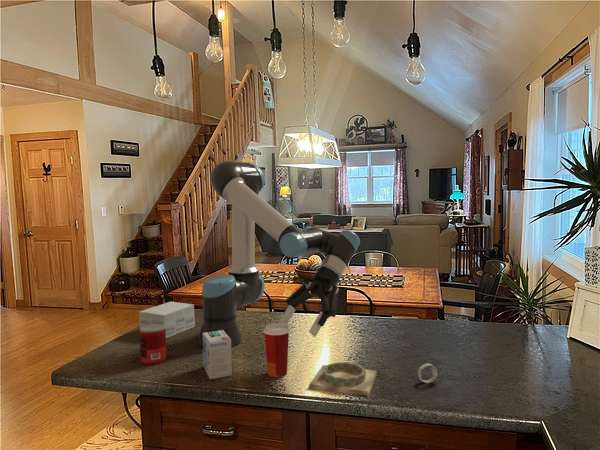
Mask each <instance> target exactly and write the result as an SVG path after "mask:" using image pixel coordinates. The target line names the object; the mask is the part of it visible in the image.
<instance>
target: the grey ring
mask: <svg viewBox="0 0 600 450" xmlns="http://www.w3.org/2000/svg"><path fill="white" fill-rule="evenodd" d="M427 367H431V372H432V377H431V378H429V379H427V380H425V379H422V375H423V374H422V370H424V369H425V368H427ZM417 369H418V370H417V377H418V379H419V380H420V381H421V382H423V383H425V384H431V383H433V382H434V381H435V380H436V378H438V370H437V368H436V367H435V366H434V365H433V364H431V363H424V364H422V365H421V366H419V368H417Z"/></svg>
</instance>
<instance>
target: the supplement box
mask: <svg viewBox="0 0 600 450" xmlns="http://www.w3.org/2000/svg"><path fill="white" fill-rule="evenodd" d="M138 313H139V314H138V315H139V316H138V317H139V328H140V327H142V326H144V325H148V324H164V325H165V329H166V339H168V338H170V337H172V336H175V335H177V334H181V333H183V332H185V331H187V330H190V329H192V328H195V326H196V322H195V321H196V320H195V304H193V303H185V302H184V303H183V302H176V301H168V302H165V303H163V304H162V303H161V304H159V305H156V306H152V307H149V308H146V309H142V310H140V311H138Z"/></svg>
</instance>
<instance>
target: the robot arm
mask: <svg viewBox="0 0 600 450" xmlns="http://www.w3.org/2000/svg"><path fill="white" fill-rule="evenodd" d="M210 183H211V186H212V189H213V190H214V191H215V192H216V193H217V195H218V196H219V197H221V199H223V200H224V201H226V202H231V259H232V260H231V263H232V264H231V266H230V268H228V271H227V273H226V274H225V273H224V274H218V275H217V274H216V275H213V276H209V277H208V278H206V279H205V280H203V282H202V288H201V298H202V324H201V325H202V326H201V329H200V332H199V335H198V344H199V346H200V347H202V348H203V336H202V333H206V332H213V331H219V330H223V331H224V332H225V333H226V334H227V335H228V336H229V338H230V339H231V348H232V347H235V346H237V345H240V343H241V342H242V339H243V338H242V333H241V328H240V326H239V324H238V320H237V309H239V308H241V307H245V306H248V305H251V304H254V303H255V302H257V301H258V300H260V299H261V298H262V296H263V295H264V293H265V287H266V286H265V285H266V284H265V280H264V278H262V275H261V274H260V270H259V268H258V267H257V266H256V257H255V254H256V251H255V250H256V245H255V242H256V241H255V240H256V237H255V236H256V234H255V229H256V228H255V226H256V224H257V225H258V226H259V227H260V228H261V229H263V230H264V231H265V232H266V233H267V234H268V235H269V236H271V237H272V238H273V239H274V240H275V241H276V242H278V243H279V248H280V250H281V253H282V254H283V255H284V256H286V257H289V258H299V257H301V256H305V255H309V254H314V253H320V254H322V255H326V256H325V257H324V259H323V261H322V262H321V264H320V266H319V268H317V270H316V272H315V273H314V279H313V281H312V282H310V281H309V280H308V279H306V280H305V281H304V282H303V284H302V285H301V286H300V287H298V288H297V289H296V290H295V291H294V292H293V293H292V294H290V295H289V296H288V297H287V298H286V299H285V300H284V302H285V303H286V304H287V306H286V308H285V309H284V311H283V314H282V316H281V318H280V319H279V321H278V323H279V324H286V325H287V326H288V324H289V321H290V320H291V318H292V317H293V315H294V313H295V312H296V308H297V307H299V306H300V305H302V304H303V303H305V302H306V301H308V300H309V299H310V300H311V299H313V298H315V299H319V300H320V302H321V312H319V313H318V314H317V316H316V319H315V320H314V322H313V324H312V325H311V327H310V329H309V331H308V332H309V334H310V335H312V337H315V338H316V337H317V335H318V333H319V332H320V330H321V328H323V327H324V326H325V323H326V322H327V321H328V319H329V318H332V317H333V318H335V317H336V316H337V309H338V299H339V294H341V293H340V292H341V290H340V289H339V287H338V286H337V285H338V283H339V281H340V279H341V277H342V276H343V274H344V273H345V271H346V269H347V267H348V266H349V263H350V262H351V261H352V259H353V257H354V255H356V253H357V250H358V248H359V246H360V244H361V240H360V238H359V236H358V234H356V233H355V232H353V231H352V230H349V229H343V230H341V231H340V232H339V234H336V233H332V232H330V231H326V230H323V229H320V228H318V227H315V226H310V225H307V226H305V227H304V228H303V229H302V230H300V229H299V228H298V227H297V226H296V225H294V224H293V223H292V222H291V221H290V220H289V219H287V218H286V217H285V216H284V215H282V213H280V212H279V211H278V210H276V209H275V208H274V206H272V205H270V204H269V203H268V201H266V200H264V199H263V198H262V197H261V196H259V195H260V194H259V193H260V192H261V191H262V189H264V186H265V175H264V173H263V171H262V169H261V168H260V167H259V166H258V165H256V164H255V163H251V162H246V161H245V162H243V161H230V160H225V161H221V162H219V163H218V164H216V165H215V166H214V167H213V169H212V170H211V173H210Z"/></svg>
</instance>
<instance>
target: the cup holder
mask: <svg viewBox="0 0 600 450" xmlns="http://www.w3.org/2000/svg"><path fill="white" fill-rule="evenodd" d="M377 373H378V371H377V370H374V369H366V368H364V367H363V366H362V365H360V364H357V363H353V362H345V361H342V362H339V361H338V362H333V363H330V364H326V365H325V364H322V365H321V367H320V368H319V370H318V371H317V372H316V374H315V375H314V377H313V378H312V380H311V381H310V383H309V386H308V387H309V389H311V390H318V391H326V392H335V393H341V394H342V393H345V394H350V395H359V396H365V397H366V396H367V397H369V396H370V393H371V391H372V390H373V389H372V388H373V386H374V383H375V380H376V377H377Z"/></svg>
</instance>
